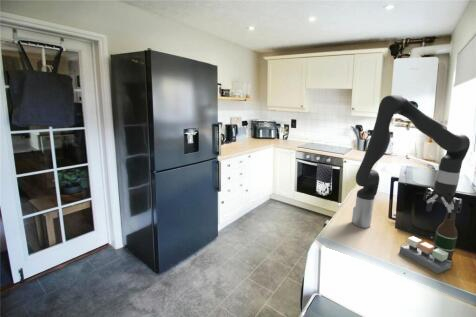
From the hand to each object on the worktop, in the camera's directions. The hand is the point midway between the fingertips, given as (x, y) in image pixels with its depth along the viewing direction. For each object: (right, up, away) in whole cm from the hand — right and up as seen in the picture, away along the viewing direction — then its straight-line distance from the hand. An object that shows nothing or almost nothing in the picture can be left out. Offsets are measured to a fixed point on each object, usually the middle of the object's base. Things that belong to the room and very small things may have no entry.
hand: (438, 215), depth 114 cm
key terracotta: (-2, -17, +4) cm, 18 cm away
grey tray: (-3, -22, +5) cm, 23 cm away
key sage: (0, -19, 0) cm, 19 cm away
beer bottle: (+9, -21, +10) cm, 25 cm away
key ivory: (-4, -16, +9) cm, 19 cm away
